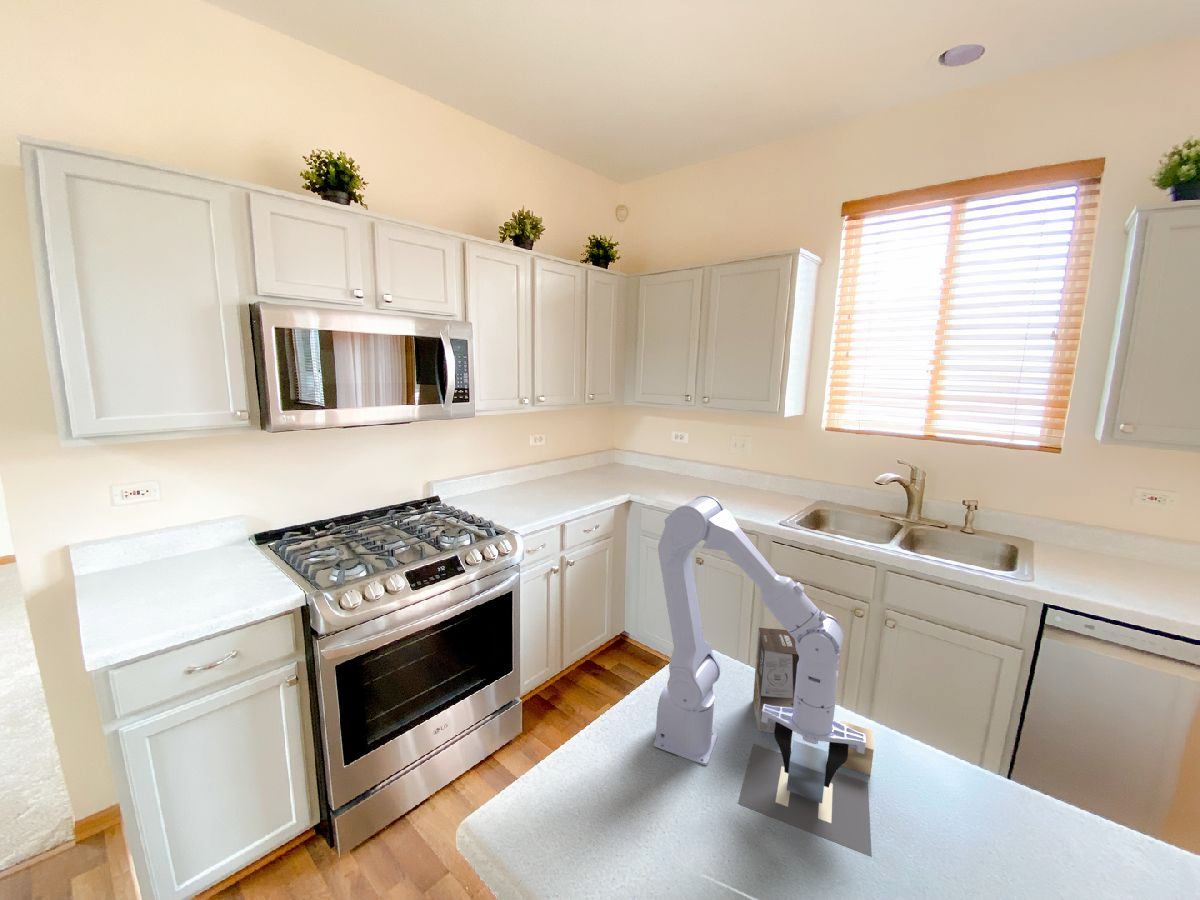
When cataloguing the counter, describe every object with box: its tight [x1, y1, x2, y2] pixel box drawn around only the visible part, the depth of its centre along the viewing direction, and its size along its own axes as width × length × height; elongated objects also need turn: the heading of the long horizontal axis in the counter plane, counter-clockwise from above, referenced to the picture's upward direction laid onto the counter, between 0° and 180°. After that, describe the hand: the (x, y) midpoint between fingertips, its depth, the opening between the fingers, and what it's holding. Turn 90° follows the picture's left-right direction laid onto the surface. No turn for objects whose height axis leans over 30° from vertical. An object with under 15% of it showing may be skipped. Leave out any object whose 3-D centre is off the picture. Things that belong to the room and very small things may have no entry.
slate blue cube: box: [787, 740, 828, 803], centre depth 77 cm, size 5×5×5 cm
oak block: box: [839, 720, 874, 776], centre depth 85 cm, size 5×5×5 cm
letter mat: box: [737, 743, 873, 858], centre depth 78 cm, size 18×14×1 cm
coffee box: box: [752, 627, 799, 734], centre depth 94 cm, size 9×6×16 cm
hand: (806, 775), depth 77 cm, fingers closed on slate blue cube, 5 cm apart
